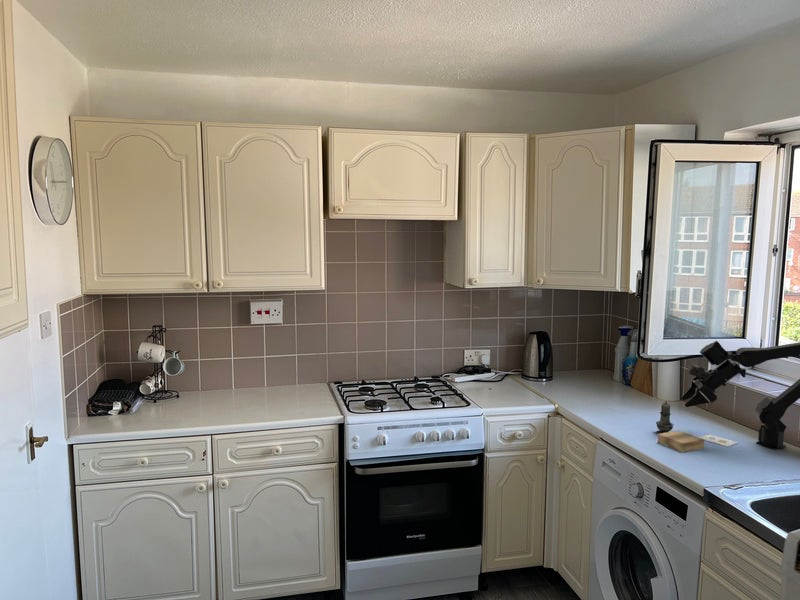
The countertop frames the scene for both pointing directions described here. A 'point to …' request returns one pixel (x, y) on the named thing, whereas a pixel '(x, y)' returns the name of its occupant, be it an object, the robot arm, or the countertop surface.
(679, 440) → the base brick
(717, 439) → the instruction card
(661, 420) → the weathered stone finial
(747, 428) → the countertop surface
